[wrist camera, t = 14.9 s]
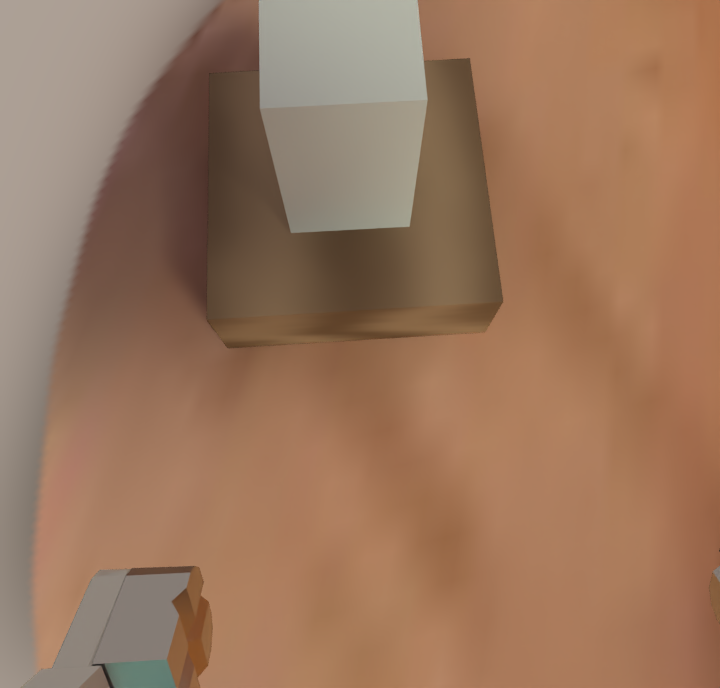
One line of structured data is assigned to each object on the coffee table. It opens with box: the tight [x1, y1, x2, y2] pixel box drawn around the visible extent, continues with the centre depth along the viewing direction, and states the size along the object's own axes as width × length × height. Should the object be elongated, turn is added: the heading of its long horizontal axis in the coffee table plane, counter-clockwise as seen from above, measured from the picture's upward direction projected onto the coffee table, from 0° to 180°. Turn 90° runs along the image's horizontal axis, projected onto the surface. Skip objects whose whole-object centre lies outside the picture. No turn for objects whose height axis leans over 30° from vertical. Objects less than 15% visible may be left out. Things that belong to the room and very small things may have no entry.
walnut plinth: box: [207, 58, 503, 348], centre depth 29 cm, size 12×12×4 cm
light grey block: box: [259, 0, 428, 233], centre depth 23 cm, size 5×5×8 cm
